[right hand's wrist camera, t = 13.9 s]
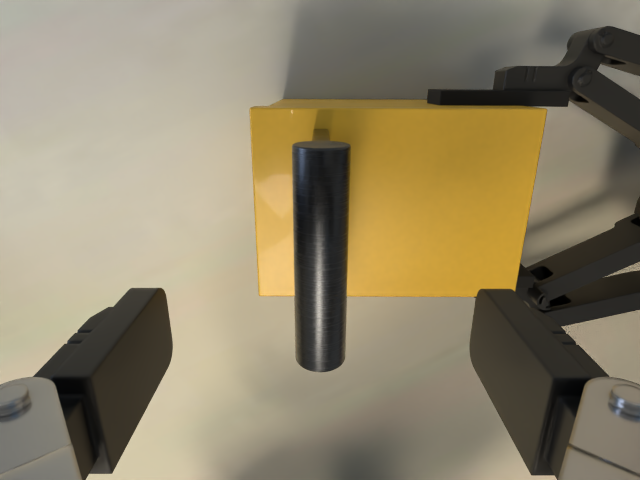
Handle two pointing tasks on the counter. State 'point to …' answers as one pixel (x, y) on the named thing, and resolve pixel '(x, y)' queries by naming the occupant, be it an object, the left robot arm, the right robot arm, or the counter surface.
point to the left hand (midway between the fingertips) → (425, 191)
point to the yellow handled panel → (387, 207)
